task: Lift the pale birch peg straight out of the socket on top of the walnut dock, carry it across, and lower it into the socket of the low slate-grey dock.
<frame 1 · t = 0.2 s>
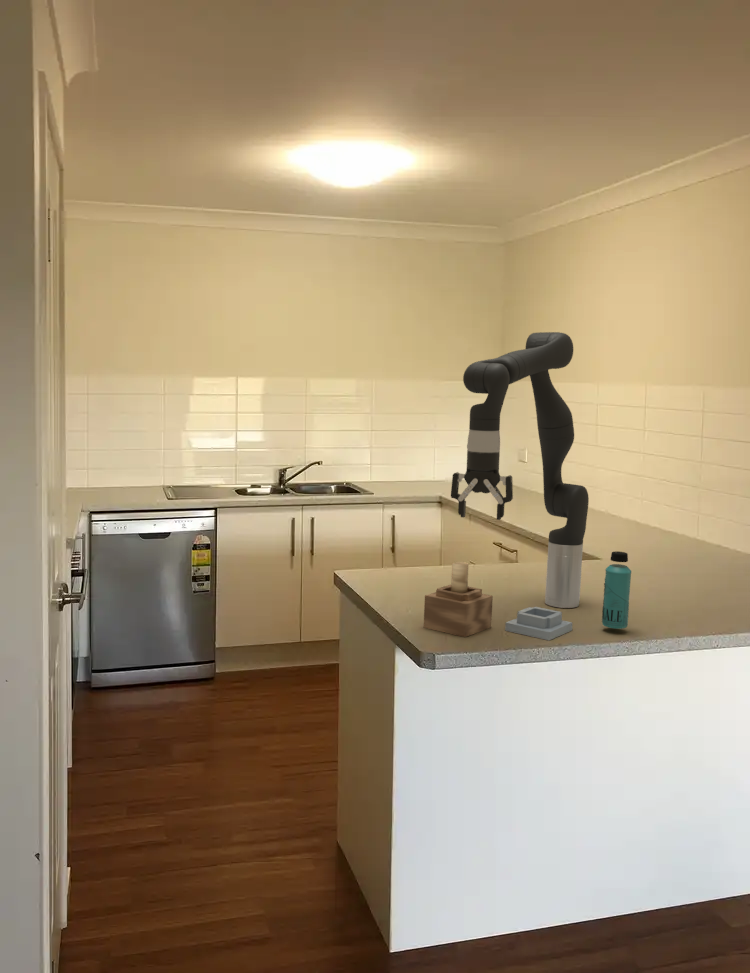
hand: (480, 518, 224), 29 cm above the worktop, fingers open, 8 cm apart
walnut dock: (457, 627, 236), on the worktop
beverage bottle: (614, 631, 237), on the worktop
slate dock: (538, 630, 235), on the worktop
birch peg: (458, 595, 235), point 8 cm above the worktop, touching walnut dock
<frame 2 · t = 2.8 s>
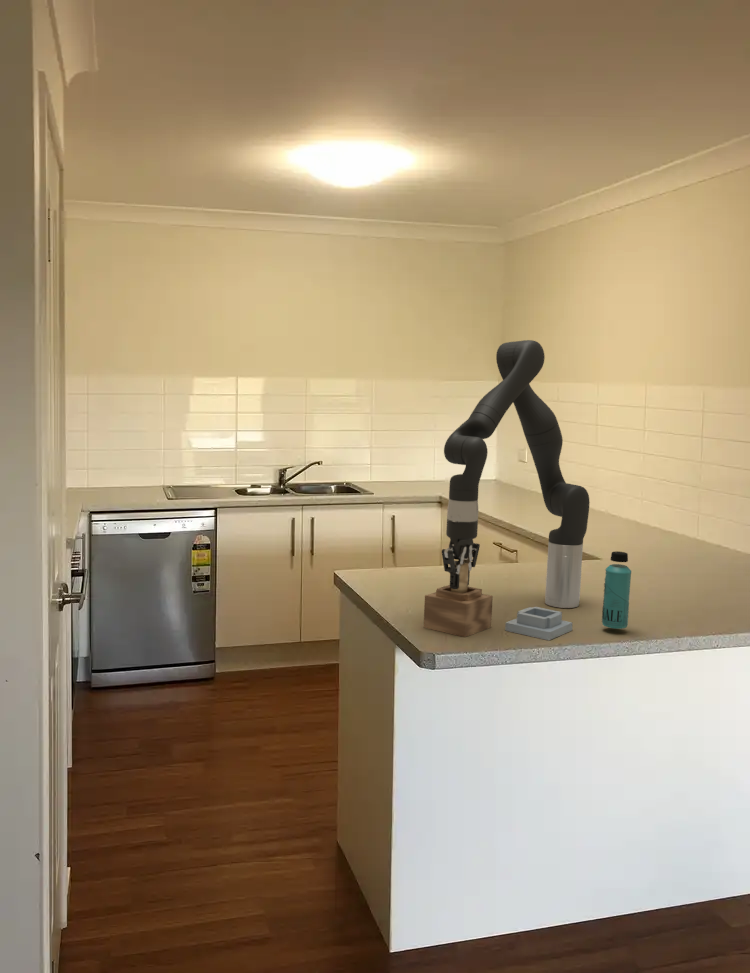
hand: (459, 586, 234), 10 cm above the worktop, fingers closed on birch peg, 4 cm apart
birch peg: (458, 595, 235), point 8 cm above the worktop, touching gripper, walnut dock
everything else where it was.
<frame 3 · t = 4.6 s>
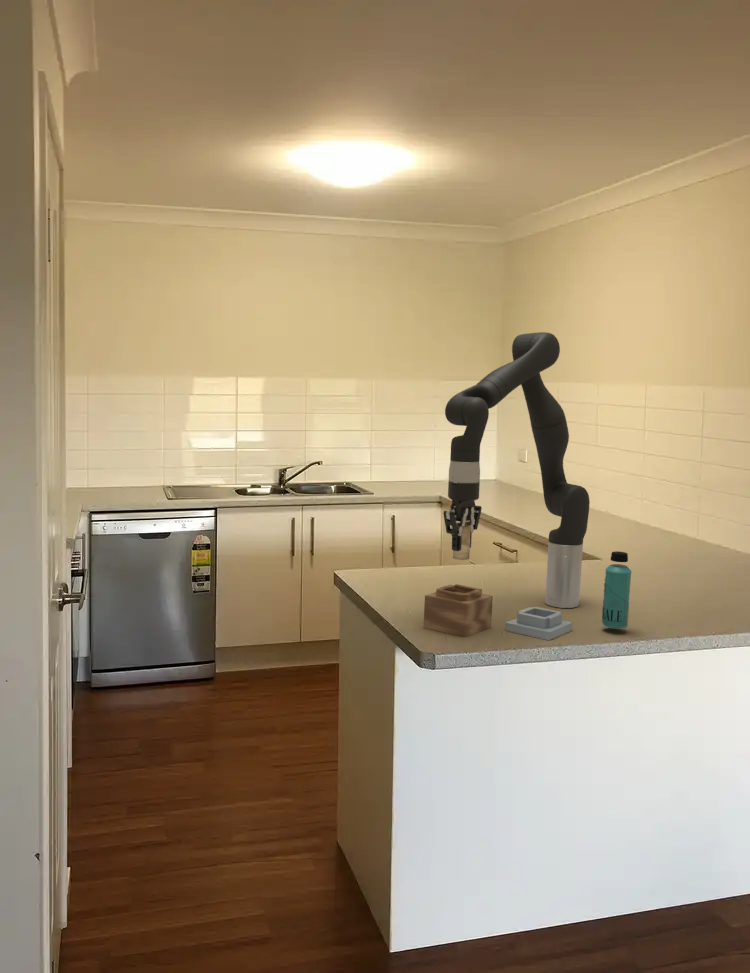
hand: (461, 548, 233), 20 cm above the worktop, fingers closed on birch peg, 4 cm apart
birch peg: (461, 558, 233), point 17 cm above the worktop, touching gripper
everything else where it was.
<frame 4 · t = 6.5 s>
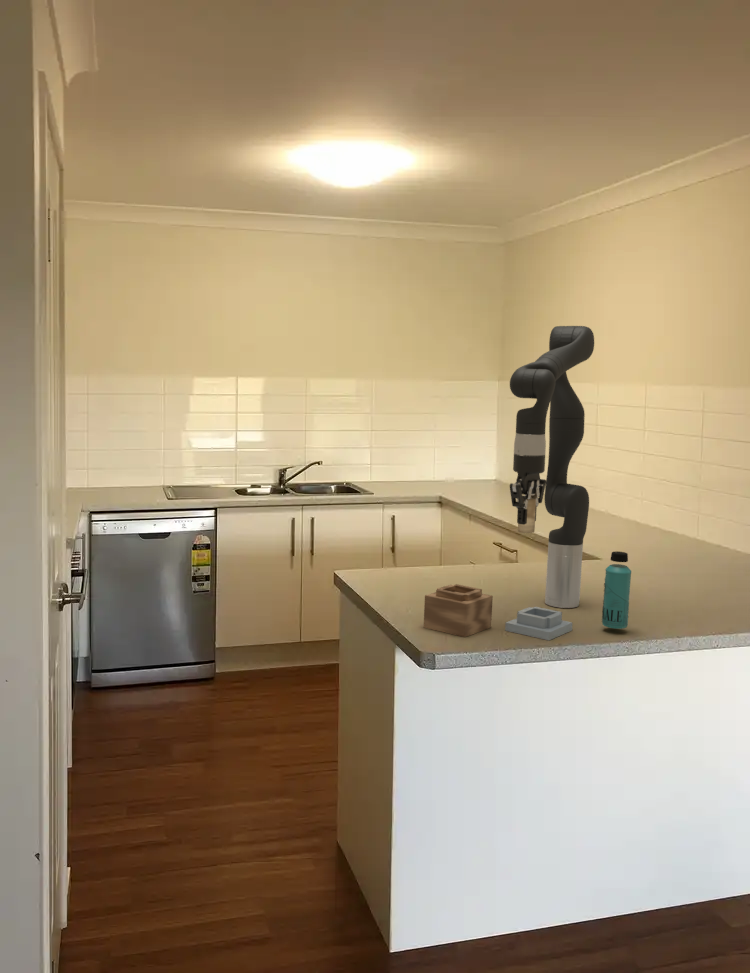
hand: (526, 522, 232), 27 cm above the worktop, fingers closed on birch peg, 4 cm apart
birch peg: (526, 531, 232), point 25 cm above the worktop, touching gripper
everything else where it was.
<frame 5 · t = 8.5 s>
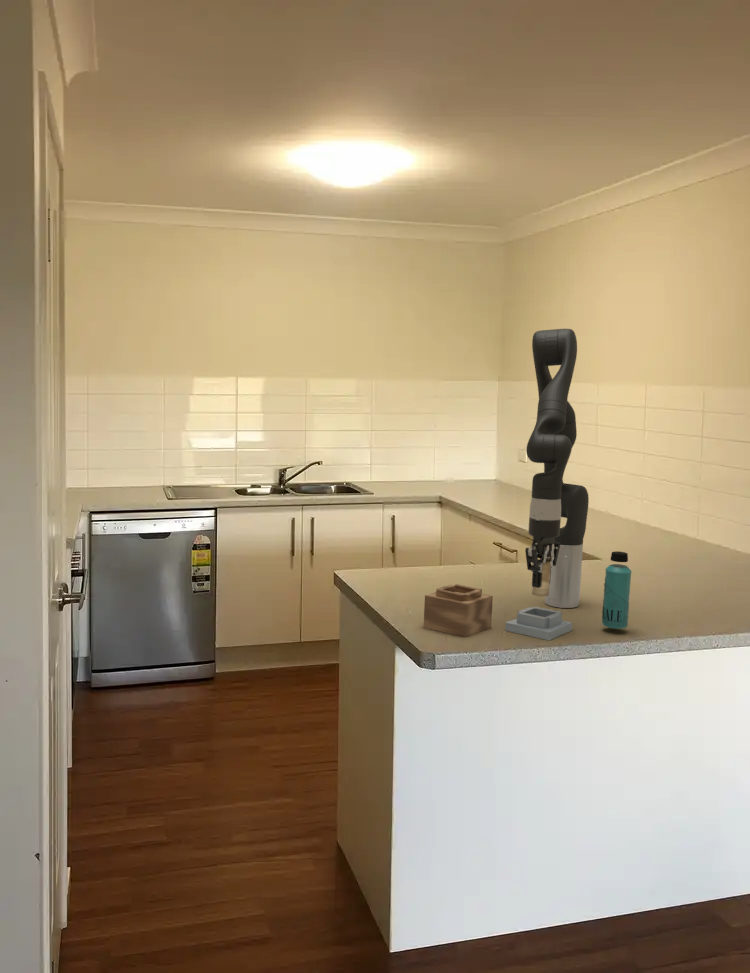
hand: (540, 585, 234), 11 cm above the worktop, fingers closed on birch peg, 4 cm apart
birch peg: (540, 594, 234), point 9 cm above the worktop, touching gripper
everything else where it was.
when the fingers open (5 cm above the worktop, at t = 10.2 s): birch peg stays where it is, resting on slate dock.
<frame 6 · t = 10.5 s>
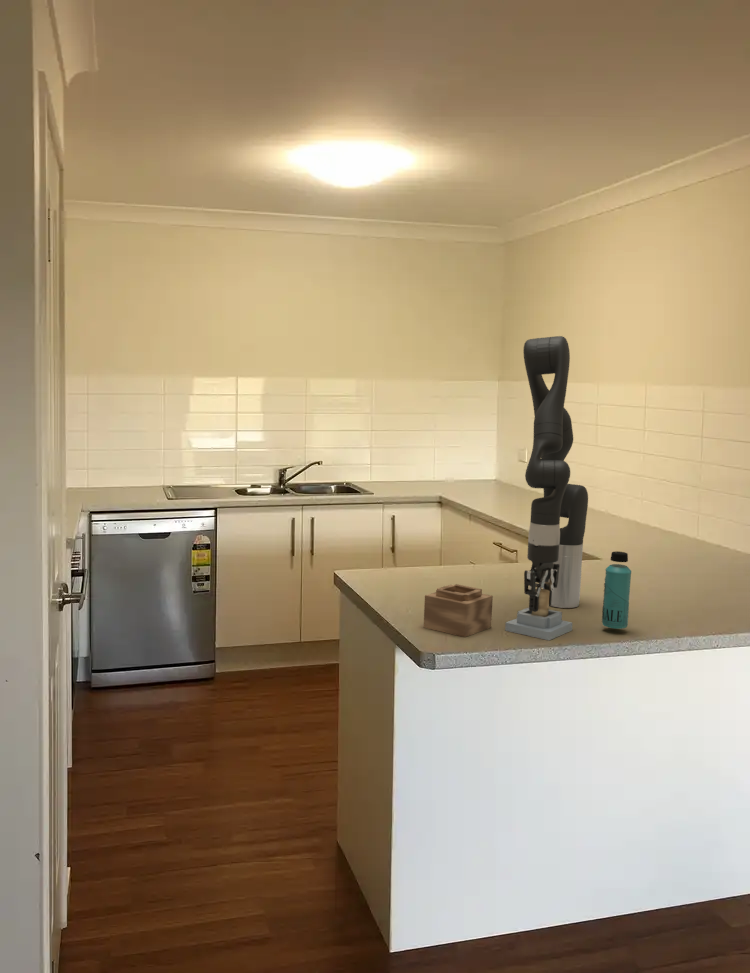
hand: (540, 608, 235), 6 cm above the worktop, fingers open, 6 cm apart
birch peg: (539, 622, 235), point 2 cm above the worktop, touching slate dock
everything else where it was.
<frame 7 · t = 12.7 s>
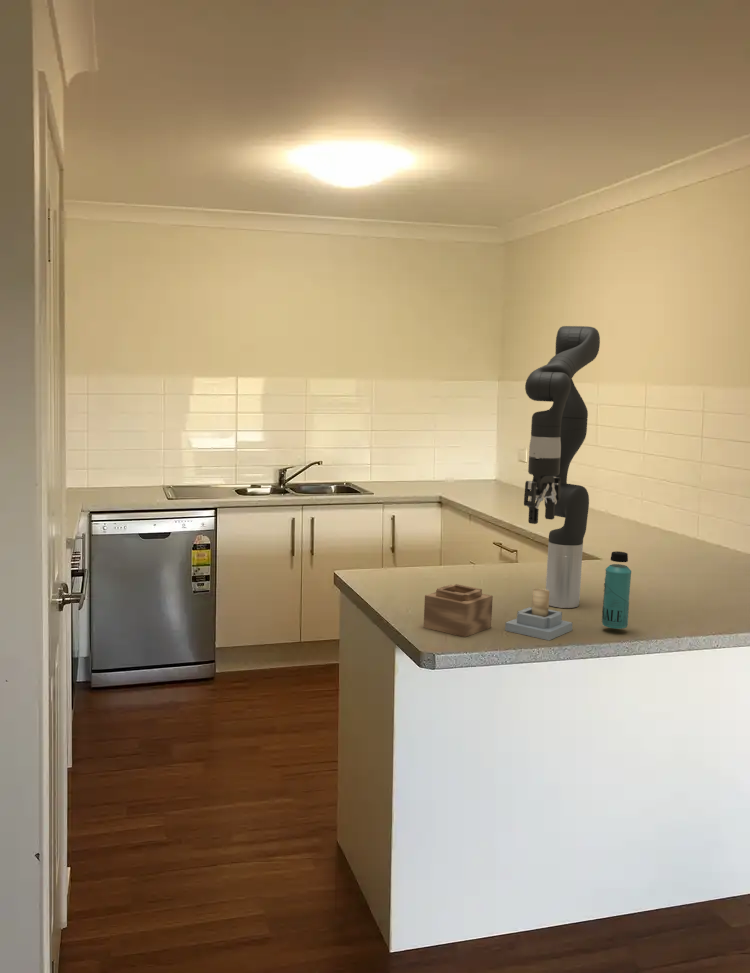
hand: (541, 521, 233), 27 cm above the worktop, fingers open, 8 cm apart
nothing on the worktop moved.
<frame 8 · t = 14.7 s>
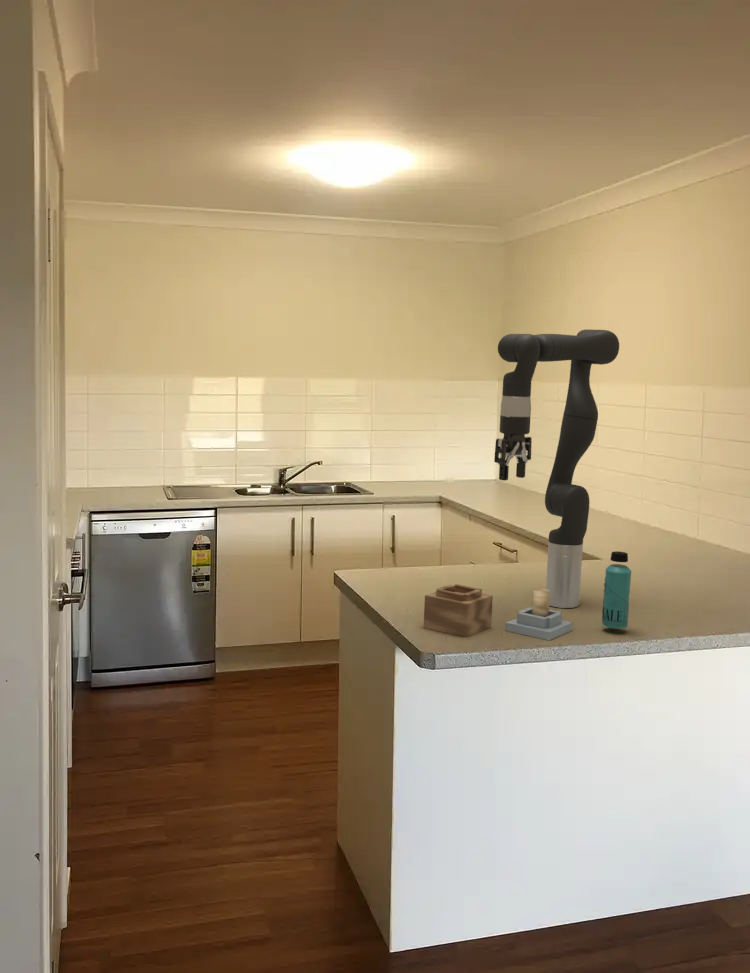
hand: (512, 478, 241), 36 cm above the worktop, fingers open, 8 cm apart
nothing on the worktop moved.
at the end: birch peg 0.1 cm off-centre on the slate dock, point 2.0 cm above the slate dock's base; birch peg tilted 1°; the gripper is holding nothing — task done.
